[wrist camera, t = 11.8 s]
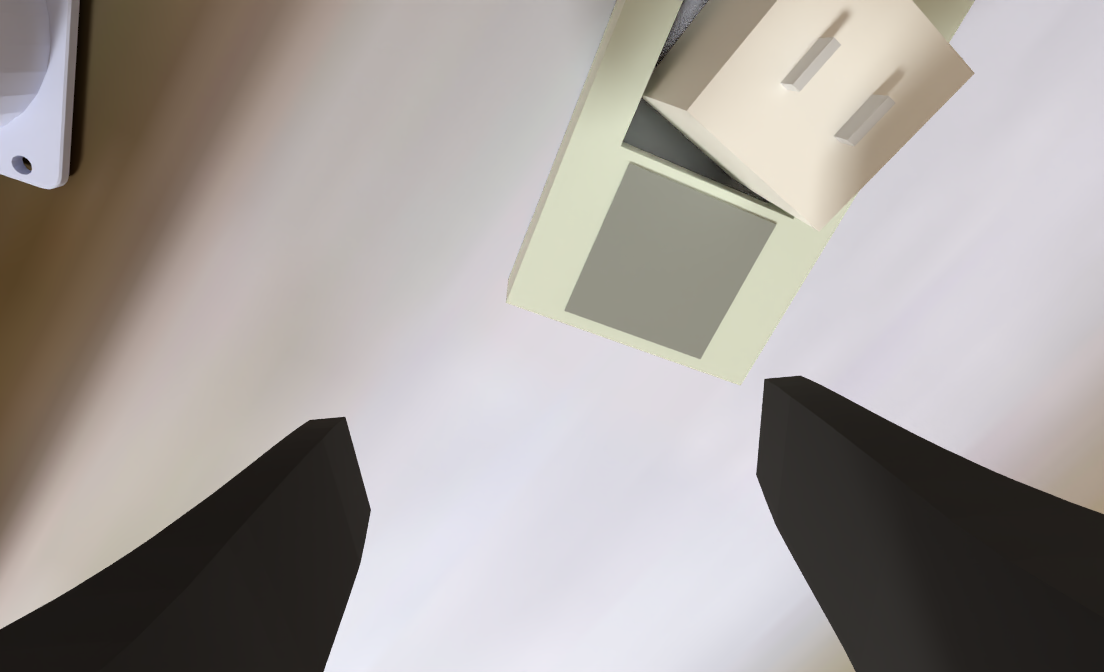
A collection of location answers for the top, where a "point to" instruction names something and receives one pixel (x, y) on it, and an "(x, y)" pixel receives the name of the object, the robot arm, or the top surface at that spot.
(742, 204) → the outlet plate
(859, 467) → the robot arm
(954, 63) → the charger
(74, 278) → the top surface
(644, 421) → the top surface
